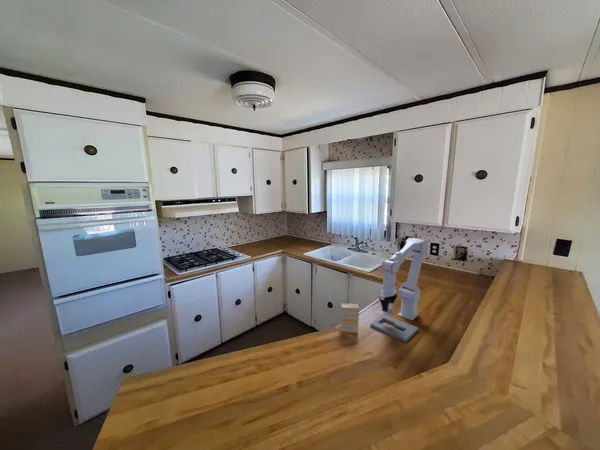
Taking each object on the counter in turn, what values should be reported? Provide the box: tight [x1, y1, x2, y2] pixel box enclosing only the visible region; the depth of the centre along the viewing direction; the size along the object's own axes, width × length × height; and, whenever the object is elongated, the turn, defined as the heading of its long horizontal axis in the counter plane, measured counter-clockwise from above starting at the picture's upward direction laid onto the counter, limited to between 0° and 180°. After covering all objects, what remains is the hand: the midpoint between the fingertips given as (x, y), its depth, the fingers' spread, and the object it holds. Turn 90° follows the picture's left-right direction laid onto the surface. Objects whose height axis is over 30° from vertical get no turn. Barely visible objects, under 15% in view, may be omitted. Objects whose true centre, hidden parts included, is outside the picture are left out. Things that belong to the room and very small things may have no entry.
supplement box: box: [340, 303, 360, 335], centre depth 114 cm, size 8×5×13 cm, turn 84°
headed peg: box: [381, 301, 394, 316], centre depth 120 cm, size 5×5×6 cm
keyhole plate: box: [369, 313, 419, 343], centre depth 118 cm, size 15×18×2 cm
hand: (387, 309), depth 120 cm, fingers closed on headed peg, 5 cm apart
